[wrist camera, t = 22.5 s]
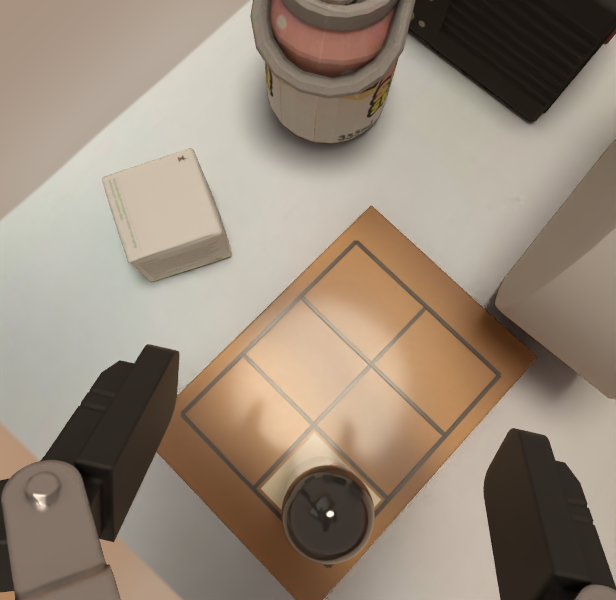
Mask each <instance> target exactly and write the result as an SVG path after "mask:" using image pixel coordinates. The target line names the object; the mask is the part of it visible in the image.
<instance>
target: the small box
mask: <svg viewBox="0 0 616 600" xmlns="http://www.w3.org/2000/svg"><path fill="white" fill-rule="evenodd" d="M102 181H103V185H104V188H105V192H106V195H107V198H108V201H109V205H110V208H111V211H112V214H113V217H114V220H115V223H116V226H117V229H118V232H119V235H120V238H121V241H122V245H123V248H124V250H125V253H126V256H127V259H128V262H129V263H130V264H131V265H133V266H134V267H135V268H136V269H137V270H138V271H139V272H140V273H142V274H143V275H144V276H145V277H146V278H147V279H148V280H149V281H151V282H153V281H156V280H159V279H162V278H165V277H169V276H172V275H175V274H178V273H181V272H184V271H187V270H190V269H194V268H197V267H200V266H203V265H206V264H209V263H212V262H215V261H218V260H221V259H224V258H227V257H230V256H231V254H232V252H231V248H230V245H229V241H228V238H227V235H226V232H225V229H224V226H223V223H222V220H221V217H220V214H219V211H218V209H217V206H216V203H215V200H214V198H213V195H212V193H211V190H210V188H209V185H208V183H207V181H206V178H205V176H204V174H203V171H202V169H201V167H200V164H199V162H198V159H197V157H196V155H195V152H194V150H193V149H192V148H190V149H186V150H183V151H180V152H177V153H174V154H171V155H168V156H165V157H162V158H159V159H156V160H153V161H150V162H147V163H144V164H141V165H138V166H135V167H132V168H129V169H126V170H123V171H120V172H117V173H114V174H111V175H108V176H105V177H103V178H102Z"/></svg>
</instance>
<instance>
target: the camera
mask: <svg viewBox="0 0 616 600" xmlns="http://www.w3.org/2000/svg"><path fill="white" fill-rule="evenodd" d="M409 29H411V30H412V31H413V32H415V33H416V34H417V35H419V36H420V37H421V38H423V39H424V40H425V41H427V42H428V43H429V44H431V45H432V46H433V48H434V49H435V50H437V51H438V52H439V53H441V54H442V55H443V56H445V57H446V58H447V59H449V60H450V61H451V62H453V63H454V64H455V65H457V66H458V67H459V68H461V69H462V70H463V71H465V72H466V73H467V74H469V75H470V76H471V77H473V78H474V79H475V80H477V81H478V82H479V83H481V84H482V85H483V86H485V87H486V88H487V89H489V90H490V91H491V92H493V93H494V94H495V95H497V96H498V97H499V98H501V99H502V100H504V101H505V102H506V103H508V104H509V105H510V106H512V107H513V108H514V109H516V110H517V111H518V112H520V113H521V114H522V115H524V116H525V117H526V118H528V119H529V120H530V121H536V120H537V119H538V118H539V117H540V115H541V114H542V113H545V112H546V111H547V110H548V109H549V108H550V107H551V105H552V104H553V103H554V102H555V101H556V99H557V98H558V97H559V96H560V95H561V94H562V92H563V91H564V90H565V89H566V88H567V86H568V85H569V84H570V83H571V82H572V80H573V79H574V78H575V77H576V76H577V74H578V73H579V72H580V71H581V70H582V69H583V67H584V66H585V65H586V64H587V63H588V61H589V60H590V59H591V58H592V57H593V55H594V54H595V53H596V52H597V51H598V50H599V48H600V47H601V46H602V45H603V44H607V43H608V42H609V41H610V40H611V39H612V38H613V36H614V35H615V34H616V0H415V4H414V8H413V12H412V16H411V20H410V24H409Z"/></svg>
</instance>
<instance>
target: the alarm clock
mask: <svg viewBox="0 0 616 600" xmlns="http://www.w3.org/2000/svg"><path fill="white" fill-rule="evenodd" d="M495 306H496V307H497V308H498V309H499V310H500V311H501V312H502V313H503V314H504V315H506V316H507V317H508V318H509V319H511V320H512V321H513V322H514V323H516V324H517V325H518V326H519V327H521V328H522V329H523V330H524V331H525V332H527V333H528V334H529V335H530V336H532V337H533V338H534V339H535V340H537V341H538V342H539V343H540V344H542V345H543V346H544V347H545V348H547V349H548V350H549V351H550V352H552V353H553V354H554V355H555V356H557V357H558V358H559V359H560V360H562V361H563V362H564V363H565V364H567V365H568V366H569V367H570V368H572V369H573V370H574V371H575V372H577V373H578V374H579V375H580V376H582V377H583V378H584V379H585V380H587V381H588V382H589V383H590V384H592V385H593V386H594V387H595V388H597V389H598V390H599V391H600V392H602V393H603V394H604V395H605V396H607V397H608V398H611V399H616V140H615V141H614V142H613V143H612V144H611V145H610V146H609V147H608V149H607V150H606V151H605V152H604V154H603V155H602V156H601V157H600V159H599V160H598V161H597V162H596V164H595V165H594V166H593V167H592V169H591V170H590V171H589V172H588V174H587V175H586V176H585V177H584V179H583V180H582V181H581V182H580V184H579V185H578V186H577V187H576V189H575V190H574V191H573V192H572V194H571V195H570V196H569V198H568V199H567V200H566V201H565V203H564V204H563V205H562V206H561V208H560V209H559V210H558V211H557V213H556V214H555V215H554V216H553V218H552V219H551V220H550V221H549V223H548V224H547V225H546V226H545V228H544V229H543V230H542V231H541V233H540V234H539V235H538V236H537V238H536V239H535V240H534V241H533V243H532V244H531V245H530V246H529V248H528V249H527V250H526V252H525V253H524V254H523V255H522V257H521V258H520V259H519V260H518V262H517V263H516V264H515V265H514V267H513V268H512V269H511V270H510V272H509V273H508V274H507V275H506V277H505V278H504V280H503V282H502V284H501V286H500V288H499V290H498V293H497V297H496V301H495Z"/></svg>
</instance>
